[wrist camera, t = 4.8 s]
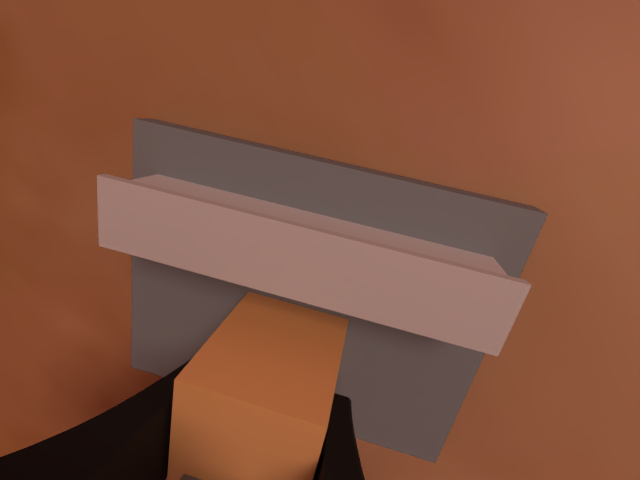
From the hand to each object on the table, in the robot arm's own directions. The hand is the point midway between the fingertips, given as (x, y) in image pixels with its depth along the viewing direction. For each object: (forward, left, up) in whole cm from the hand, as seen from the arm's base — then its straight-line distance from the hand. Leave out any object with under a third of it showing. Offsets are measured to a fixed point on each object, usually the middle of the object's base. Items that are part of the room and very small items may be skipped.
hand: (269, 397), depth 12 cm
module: (0, 0, -2) cm, 2 cm away
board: (0, -2, -3) cm, 4 cm away
